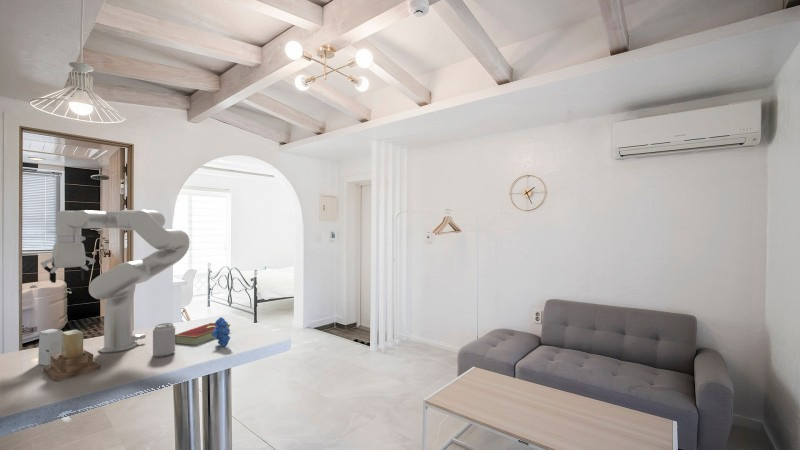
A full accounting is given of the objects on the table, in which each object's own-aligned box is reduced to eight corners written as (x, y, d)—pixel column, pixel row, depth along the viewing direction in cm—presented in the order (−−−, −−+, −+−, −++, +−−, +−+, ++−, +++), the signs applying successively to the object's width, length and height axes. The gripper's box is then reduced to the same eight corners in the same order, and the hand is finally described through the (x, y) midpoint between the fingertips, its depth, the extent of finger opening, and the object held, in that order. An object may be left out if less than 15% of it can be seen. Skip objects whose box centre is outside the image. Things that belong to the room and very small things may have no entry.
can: (179, 352, 148) (179, 323, 148) (160, 358, 141) (160, 327, 141) (167, 350, 151) (167, 321, 151) (148, 355, 144) (148, 325, 144)
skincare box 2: (60, 366, 129) (60, 331, 129) (76, 362, 133) (76, 329, 133) (67, 370, 126) (68, 334, 126) (83, 366, 129) (83, 331, 129)
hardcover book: (173, 343, 160) (173, 334, 160) (210, 330, 181) (210, 322, 181) (195, 346, 157) (195, 336, 157) (230, 332, 177) (230, 323, 177)
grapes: (206, 345, 157) (206, 317, 157) (222, 341, 162) (222, 314, 162) (217, 351, 149) (217, 322, 150) (233, 347, 155) (233, 319, 155)
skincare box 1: (37, 364, 135) (37, 331, 135) (52, 360, 139) (52, 328, 139) (48, 366, 133) (48, 333, 133) (62, 361, 137) (63, 329, 137)
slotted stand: (86, 361, 138) (86, 346, 138) (100, 369, 130) (100, 354, 130) (42, 371, 128) (43, 356, 128) (55, 381, 120) (55, 364, 120)
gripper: (92, 239, 161) (91, 277, 161) (38, 240, 147) (37, 282, 147) (98, 239, 157) (98, 279, 157) (43, 241, 143) (43, 284, 142)
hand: (69, 281), depth 152 cm, fingers open, 9 cm apart
